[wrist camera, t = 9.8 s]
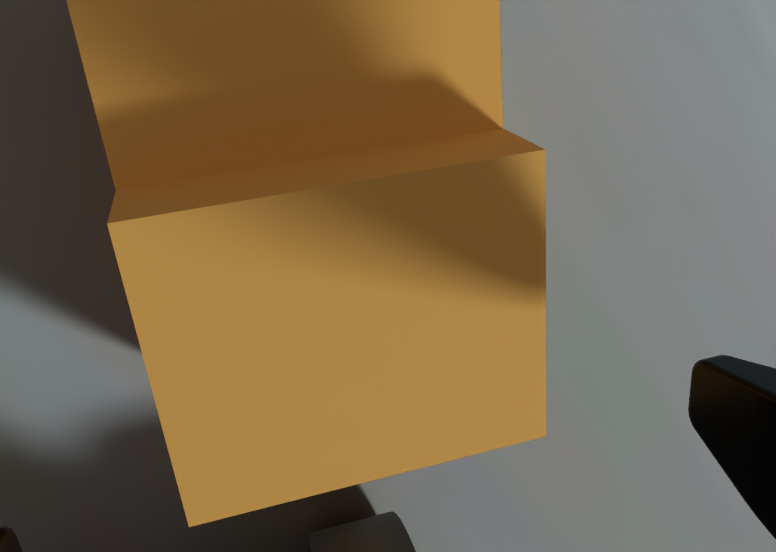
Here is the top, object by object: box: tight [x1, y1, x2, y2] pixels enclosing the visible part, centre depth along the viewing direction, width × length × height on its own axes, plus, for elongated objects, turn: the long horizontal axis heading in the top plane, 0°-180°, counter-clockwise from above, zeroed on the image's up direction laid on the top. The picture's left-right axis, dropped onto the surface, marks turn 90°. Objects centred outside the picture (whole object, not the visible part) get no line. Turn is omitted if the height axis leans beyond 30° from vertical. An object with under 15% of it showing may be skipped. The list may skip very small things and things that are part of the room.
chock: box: [66, 0, 546, 527], centre depth 12 cm, size 8×6×5 cm
